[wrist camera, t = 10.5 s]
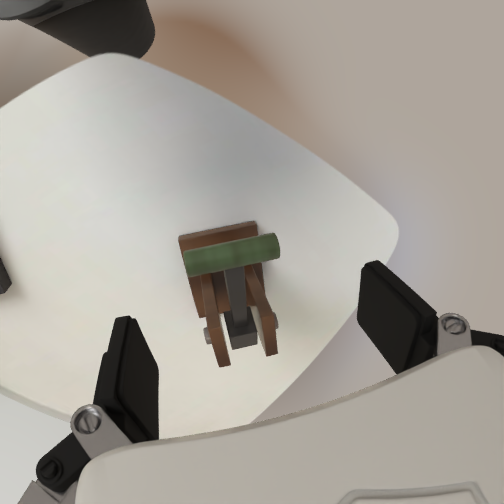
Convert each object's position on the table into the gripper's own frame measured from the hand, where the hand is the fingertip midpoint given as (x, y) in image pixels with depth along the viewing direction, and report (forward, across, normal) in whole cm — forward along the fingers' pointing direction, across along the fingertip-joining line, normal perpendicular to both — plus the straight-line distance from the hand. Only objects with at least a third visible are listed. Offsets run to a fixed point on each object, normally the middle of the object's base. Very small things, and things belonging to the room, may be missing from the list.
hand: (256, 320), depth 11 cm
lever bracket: (+20, 0, +9) cm, 21 cm away
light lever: (+9, 0, +4) cm, 10 cm away
